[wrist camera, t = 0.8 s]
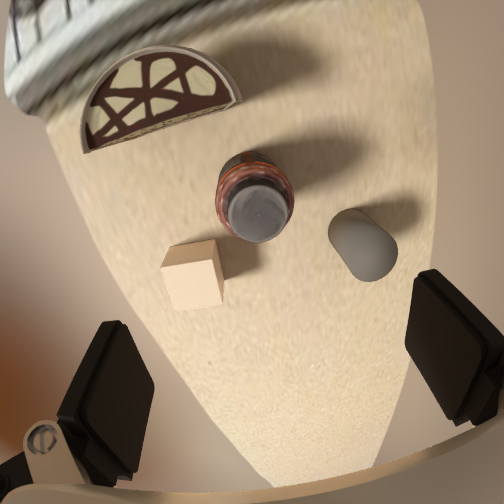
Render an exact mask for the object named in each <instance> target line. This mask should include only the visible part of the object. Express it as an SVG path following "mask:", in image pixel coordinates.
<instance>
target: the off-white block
mask: <svg viewBox="0 0 504 504" xmlns="http://www.w3.org/2000/svg"><path fill="white" fill-rule="evenodd" d="M160 268H161V272H162V275H163V278H164V281H165V284H166V288H167V291H168V294H169V297H170V300H171V303H172V306H173V309H174V311H181V310H189V309H196V308H203V307H211V306H218V305H223V293H224V277H223V273H222V268H221V264H220V259H219V255H218V250H217V246H216V241H215V239H213V240H207V241H201V242H195V243H189V244H184V245H178V246H172V247H170V248H169V250H168V252H167V254H166V256H165V258H164V261H163V263H162V265H161V267H160Z"/></svg>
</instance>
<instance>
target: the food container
mask: <svg viewBox="0 0 504 504" xmlns="http://www.w3.org/2000/svg"><path fill="white" fill-rule="evenodd" d="M242 101H243V98H242V95H241V93H240V90H239V88H238V86H237V85H236V83H235V81H234V79H233V78H232V77H231V75H230V74H229V73H228V72H227V70H226V69H225V68H224V67H223V66H221V65H220V64H219V63H218V62H217V61H216V60H214V59H213V58H211V57H209V56H208V55H206V54H204V53H202V52H199V51H197V50H194V49H191V48H186V47H181V46H173V45H160V46H152V47H147V48H144V49H140V50H137V51H135V52H133V53H131V54H128V55H126V56H124V57H123V58H121V59H120V60H118V61H117V62H116V63H114V64H113V65H112V66H111V67H110V68H109V69H107V70H106V71H105V72H104V73H103V74H102V76H101V77H100V78H99V79H98V81H97V82H96V83H95V85H94V86H93V88H92V90H91V91H90V93H89V95H88V97H87V100H86V102H85V105H84V108H83V112H82V116H81V124H80V140H81V147H82V151H83V154H87V153H90V152H91V151H94V150H97V149H101V148H104V147H107V146H111V145H114V144H117V143H121V142H124V141H128V140H132V139H135V138H138V137H141V136H144V135H146V134H149V133H152V132H155V131H158V130H161V129H164V128H167V127H170V126H173V125H176V124H179V123H182V122H186V121H189V120H192V119H195V118H199V117H202V116H206V115H209V114H213V113H217V112H220V111H224V110H227V109H228V108H229V107H230V106H232V105H233V104H234V103H236V102H242Z"/></svg>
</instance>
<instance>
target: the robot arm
mask: <svg viewBox="0 0 504 504" xmlns="http://www.w3.org/2000/svg"><path fill="white" fill-rule="evenodd" d="M405 347H406V350H407V351H408V353H409V355H410V356H411V358H412V359H413V361H414V363H415V364H416V366H417V368H418V369H419V371H420V372H421V374H422V376H423V377H424V379H425V381H426V383H427V384H428V386H429V387H430V389H431V391H432V393H433V394H434V396H435V398H436V400H437V401H438V403H439V405H440V407H441V408H442V410H443V412H444V414H445V415H446V417H447V418H448V419H449V420H453V422H454V424H455V426H459V425H461V424H463V423H465V422H467V421H469V419H470V421H471V423H472V424H473V425H472V429H470V430H468V431H466V432H464V433H462V434H459V435H457V436H455V437H453V438H451V439H448V440H446V441H444V442H441V443H439V444H437V445H434V446H432V447H430V448H427V449H425V450H422V451H419V452H417V453H414V454H412V455H409V456H406V457H403V458H400V459H398V460H394V461H392V462H388V463H385V464H382V465H379V466H375V467H372V468H368V469H365V470H361V471H358V472H354V473H350V474H346V475H342V476H338V477H333V478H329V479H324V480H319V481H314V482H309V483H303V484H297V485H291V486H284V487H277V488H270V489H260V490H249V491H236V492H217V493H173V492H154V491H140V490H128V489H119V488H117V487H116V482H117V479H120V480H128V481H132V477H133V473H136V472H137V471H138V467H139V461H140V456H141V451H142V446H143V441H144V436H145V431H146V426H147V422H148V417H149V412H150V408H151V403H152V398H153V394H154V382H153V381H152V378H151V376H150V374H149V372H148V370H147V368H146V366H145V364H144V362H143V360H142V358H141V355H140V354H139V351H138V349H137V347H136V345H135V343H134V340H133V338H132V336H131V334H130V332H129V329H128V327H127V326H126V325H125V324H122V322H120V321H119V320H115V321H105V322H102V324H101V325H100V327H99V329H98V331H97V332H96V334H95V336H94V338H93V340H92V342H91V344H90V346H89V348H88V350H87V352H86V354H85V356H84V358H83V360H82V362H81V364H80V366H79V368H78V370H77V372H76V374H75V376H74V378H73V380H72V382H71V384H70V387H69V389H68V391H67V393H66V395H65V397H64V399H63V401H62V404H61V406H60V408H59V410H58V413H57V417H58V418H59V419H58V422H57V423H55V422H54V421H50V420H44V421H41V422H38V423H36V424H34V425H33V426H32V427H31V428H30V429H29V430H28V431H27V433H26V435H25V437H24V441H23V447H24V451H23V452H21V453H20V454H18V455H16V456H15V457H13V458H11V459H9V460H8V461H6V462H4V463H3V464H1V465H0V504H504V336H503V335H502V334H501V332H500V331H499V330H498V329H497V328H496V327H495V326H494V325H493V324H492V323H491V322H490V321H489V320H488V319H487V318H486V317H485V316H484V315H483V314H482V313H481V312H480V311H479V310H478V309H477V308H476V307H475V306H474V305H473V304H472V303H471V302H470V301H469V300H468V299H467V298H466V297H465V296H464V295H463V294H462V293H461V292H460V291H459V290H458V289H457V288H456V287H455V286H454V285H453V284H452V283H451V282H449V281H448V280H447V279H446V278H445V277H444V276H443V275H442V274H441V273H440V272H439V271H437V270H436V269H431V270H426V271H422V272H420V273H419V274H418V276H417V277H416V278H415V279H414V283H413V291H412V299H411V306H410V312H409V319H408V325H407V331H406V336H405Z"/></svg>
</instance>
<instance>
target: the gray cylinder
mask: <svg viewBox="0 0 504 504" xmlns="http://www.w3.org/2000/svg"><path fill="white" fill-rule="evenodd" d="M328 237H329V240H330V242H331V244H332V245H333V247H334V248H335V250H336V251H337V252H338V254H339V255H340V257H341V258H342V260H343V261H344V262H345V264H346V265H347V267H348V268H349V270H350V271H351V273H352V274H353V275H354V276H355V277H356V278H357V279H359V280H361V281H364V282H372V281H377V280H379V279H381V278H383V277H384V276H386V275H387V274H388V273H389V272H390V271H391V270H392V268H393V267H394V265H395V263H396V260H397V256H398V248H397V244H396V242H395V240H394V239H393V238H392V237H391V236H390V235H389V234H388V233H387V232H386V231H384V230H383V229H382V228H381V227H380V226H379V225H377V224H376V223H375V222H374V221H373V220H371V219H370V218H369V217H368V216H367V215H365V214H364V213H363V212H361V211H360V210H357V209H346V210H343V211H341V212H339V213H338V214H337V215H336V216H335V217H334V218H333V219H332V221H331V222H330V225H329V228H328Z"/></svg>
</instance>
